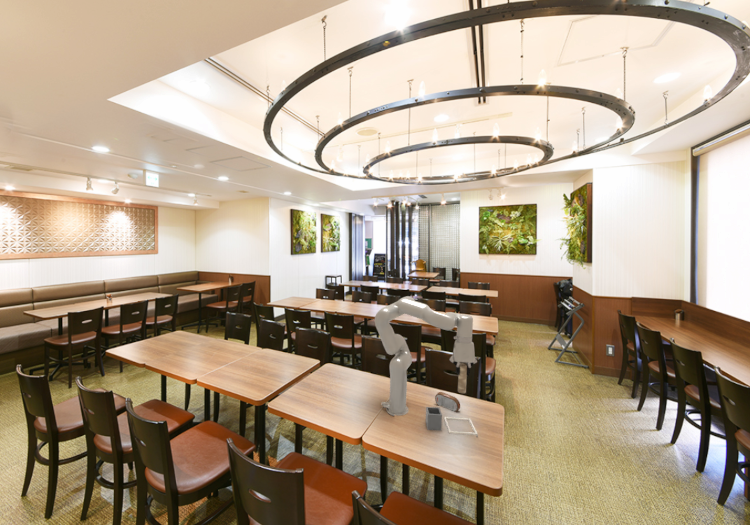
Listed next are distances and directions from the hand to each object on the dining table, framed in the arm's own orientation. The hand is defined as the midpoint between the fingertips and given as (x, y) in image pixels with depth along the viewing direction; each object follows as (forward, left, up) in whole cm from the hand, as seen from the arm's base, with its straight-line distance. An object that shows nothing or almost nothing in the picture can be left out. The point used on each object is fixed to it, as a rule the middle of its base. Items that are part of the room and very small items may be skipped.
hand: (462, 373), depth 147 cm
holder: (-14, -1, -29) cm, 32 cm away
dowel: (0, 0, -9) cm, 9 cm away
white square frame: (0, 0, -29) cm, 29 cm away
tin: (-3, +18, -29) cm, 34 cm away
